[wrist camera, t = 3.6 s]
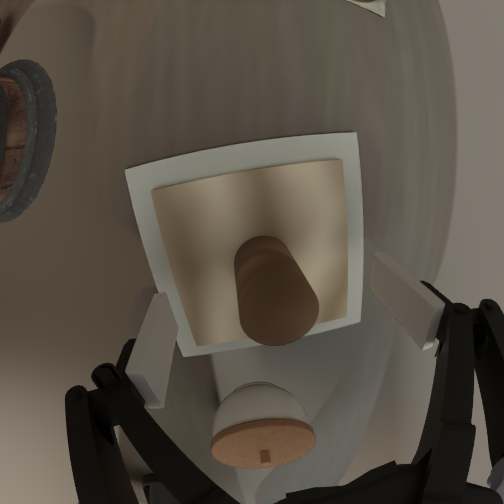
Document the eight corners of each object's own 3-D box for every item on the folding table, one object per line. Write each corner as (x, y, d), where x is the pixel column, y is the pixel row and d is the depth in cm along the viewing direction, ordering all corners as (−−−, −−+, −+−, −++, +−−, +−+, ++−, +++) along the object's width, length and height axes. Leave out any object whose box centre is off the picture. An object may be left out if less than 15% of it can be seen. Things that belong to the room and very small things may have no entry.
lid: (197, 339, 24) (191, 407, 17) (153, 188, 19) (114, 214, 12) (343, 310, 25) (379, 367, 17) (336, 158, 19) (395, 168, 12)
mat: (184, 353, 25) (183, 357, 25) (127, 169, 19) (124, 169, 18) (357, 318, 26) (360, 322, 25) (353, 132, 19) (356, 132, 19)
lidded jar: (250, 353, 26) (261, 430, 18) (317, 386, 29) (340, 448, 21) (193, 402, 29) (190, 468, 20) (260, 427, 32) (269, 484, 23)
